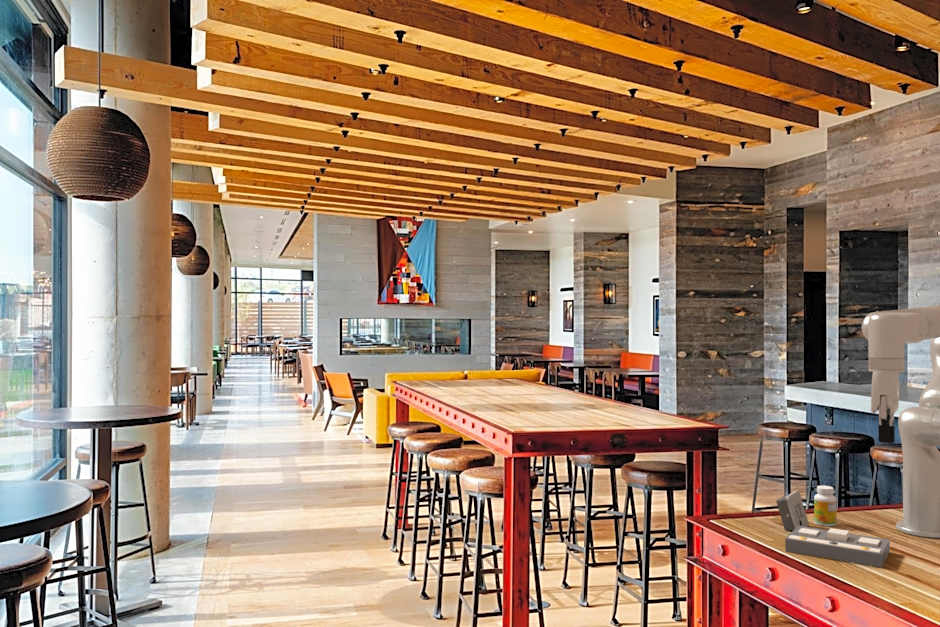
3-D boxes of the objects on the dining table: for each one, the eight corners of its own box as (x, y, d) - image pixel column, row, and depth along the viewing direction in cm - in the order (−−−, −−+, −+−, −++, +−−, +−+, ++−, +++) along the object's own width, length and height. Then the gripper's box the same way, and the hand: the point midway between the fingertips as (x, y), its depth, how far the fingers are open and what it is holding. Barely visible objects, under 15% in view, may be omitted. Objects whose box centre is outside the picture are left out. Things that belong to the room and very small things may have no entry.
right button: (860, 547, 176) (860, 537, 176) (880, 550, 174) (880, 539, 174) (857, 552, 173) (857, 541, 173) (877, 555, 170) (877, 544, 170)
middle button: (830, 538, 180) (830, 528, 180) (849, 541, 177) (849, 530, 177) (827, 542, 177) (827, 532, 177) (845, 545, 174) (845, 535, 174)
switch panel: (798, 537, 187) (798, 524, 187) (889, 552, 176) (889, 538, 176) (785, 551, 177) (785, 537, 177) (881, 567, 165) (881, 552, 165)
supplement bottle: (809, 522, 201) (809, 485, 201) (826, 520, 203) (825, 484, 203) (824, 527, 196) (824, 490, 196) (841, 525, 198) (841, 488, 198)
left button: (801, 538, 184) (801, 527, 184) (819, 540, 181) (819, 530, 181) (797, 542, 180) (797, 531, 180) (815, 545, 178) (815, 534, 178)
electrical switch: (799, 534, 190) (795, 497, 191) (778, 532, 194) (774, 496, 194) (809, 526, 198) (805, 490, 198) (789, 524, 201) (785, 489, 201)
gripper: (873, 362, 188) (873, 436, 188) (863, 366, 175) (863, 445, 176) (907, 364, 183) (908, 439, 183) (900, 368, 171) (900, 448, 171)
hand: (886, 442), depth 179 cm, fingers closed
